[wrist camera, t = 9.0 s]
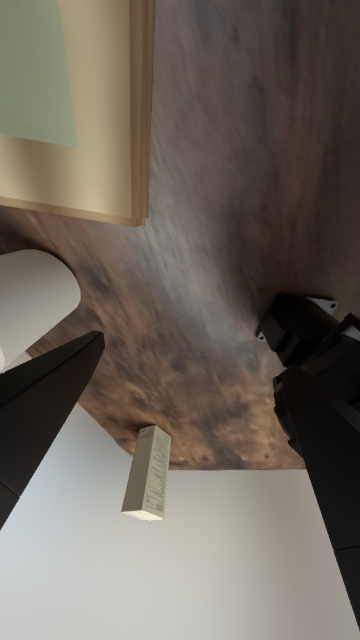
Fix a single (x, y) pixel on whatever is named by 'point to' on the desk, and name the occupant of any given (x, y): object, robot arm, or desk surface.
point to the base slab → (94, 121)
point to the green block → (34, 73)
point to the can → (32, 299)
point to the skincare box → (148, 475)
